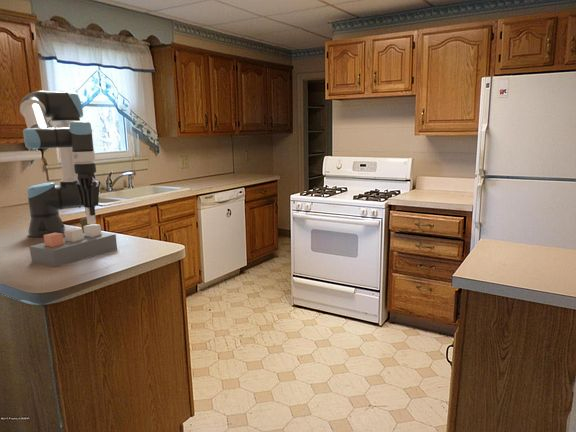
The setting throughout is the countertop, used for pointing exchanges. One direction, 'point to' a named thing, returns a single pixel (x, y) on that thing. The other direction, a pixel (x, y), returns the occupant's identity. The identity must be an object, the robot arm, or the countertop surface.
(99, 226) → the cream square button
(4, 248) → the countertop surface
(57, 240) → the terracotta button
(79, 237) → the cream white cube
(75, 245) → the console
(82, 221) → the cork
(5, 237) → the countertop surface
